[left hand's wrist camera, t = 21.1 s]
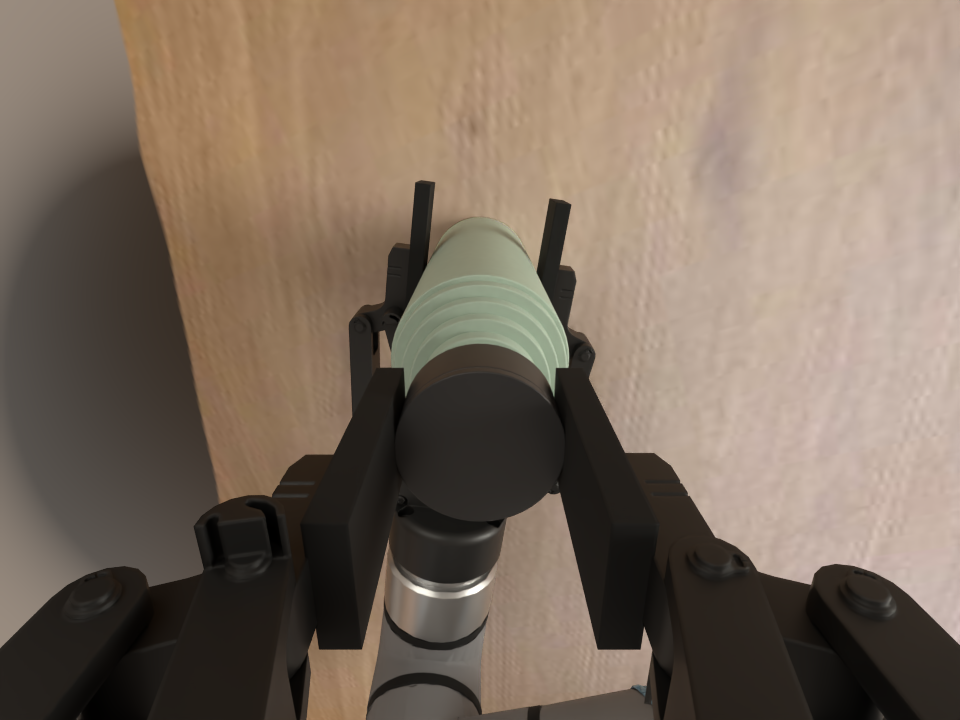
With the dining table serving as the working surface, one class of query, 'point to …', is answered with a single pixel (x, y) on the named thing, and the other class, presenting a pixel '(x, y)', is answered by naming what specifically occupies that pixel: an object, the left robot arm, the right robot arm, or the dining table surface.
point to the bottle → (479, 302)
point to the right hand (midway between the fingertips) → (493, 192)
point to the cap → (480, 434)
